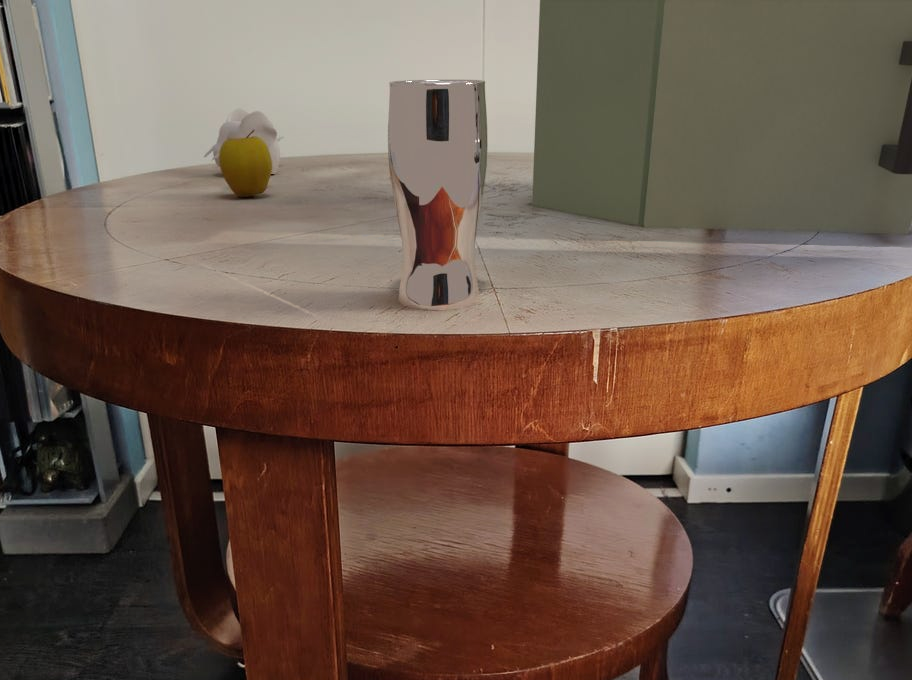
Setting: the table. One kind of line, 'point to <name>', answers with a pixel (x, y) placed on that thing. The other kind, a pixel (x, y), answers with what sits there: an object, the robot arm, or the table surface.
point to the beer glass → (438, 187)
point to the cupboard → (596, 106)
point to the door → (783, 116)
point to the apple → (246, 165)
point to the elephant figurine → (242, 126)
